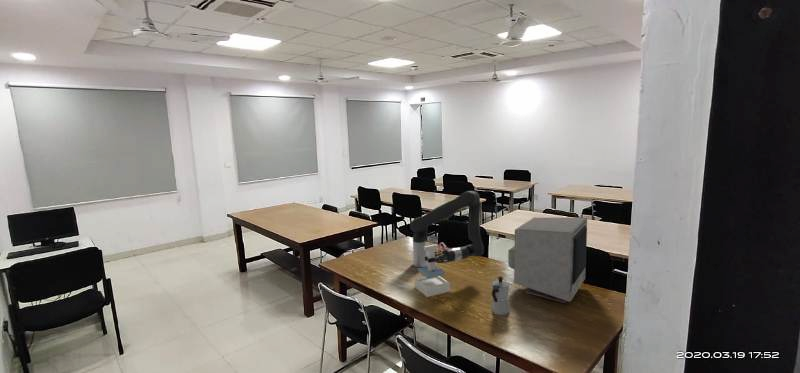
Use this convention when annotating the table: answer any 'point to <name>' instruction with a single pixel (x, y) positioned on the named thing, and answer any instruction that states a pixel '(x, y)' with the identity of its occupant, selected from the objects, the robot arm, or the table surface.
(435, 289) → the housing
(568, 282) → the crt monitor
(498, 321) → the table surface
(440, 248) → the pink and white arrow
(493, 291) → the coffee maker
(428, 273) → the snap cover
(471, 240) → the robot arm
